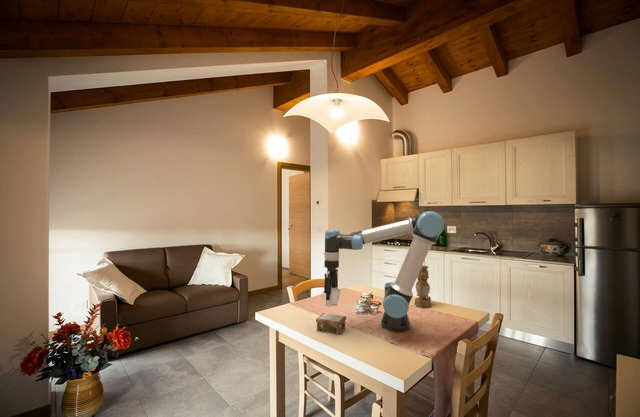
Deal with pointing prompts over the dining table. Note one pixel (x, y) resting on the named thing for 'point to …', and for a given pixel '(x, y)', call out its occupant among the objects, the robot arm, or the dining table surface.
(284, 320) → the dining table surface
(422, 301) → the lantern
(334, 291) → the cup
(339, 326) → the footstool
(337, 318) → the felt pad
